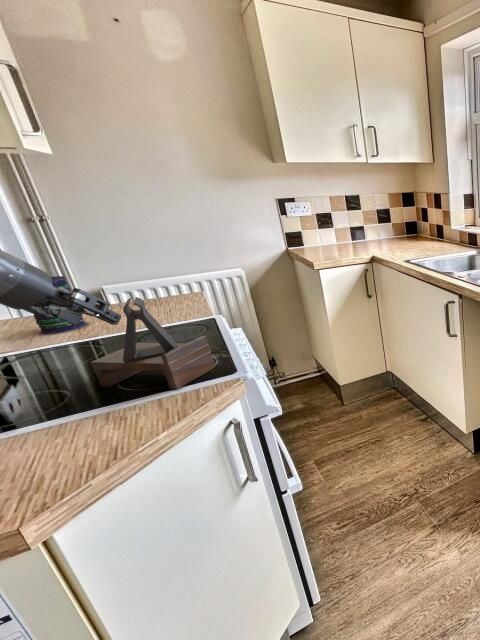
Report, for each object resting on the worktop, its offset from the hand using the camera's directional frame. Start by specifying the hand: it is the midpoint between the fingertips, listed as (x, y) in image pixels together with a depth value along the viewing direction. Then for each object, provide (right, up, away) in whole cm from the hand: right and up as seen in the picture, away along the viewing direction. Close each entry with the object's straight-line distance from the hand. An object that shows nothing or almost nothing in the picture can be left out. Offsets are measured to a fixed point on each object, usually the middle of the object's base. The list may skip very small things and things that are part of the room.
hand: (98, 320), depth 82 cm
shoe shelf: (+1, -12, +13) cm, 18 cm away
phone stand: (+1, -7, +11) cm, 13 cm away
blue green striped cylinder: (-56, 0, +46) cm, 72 cm away
